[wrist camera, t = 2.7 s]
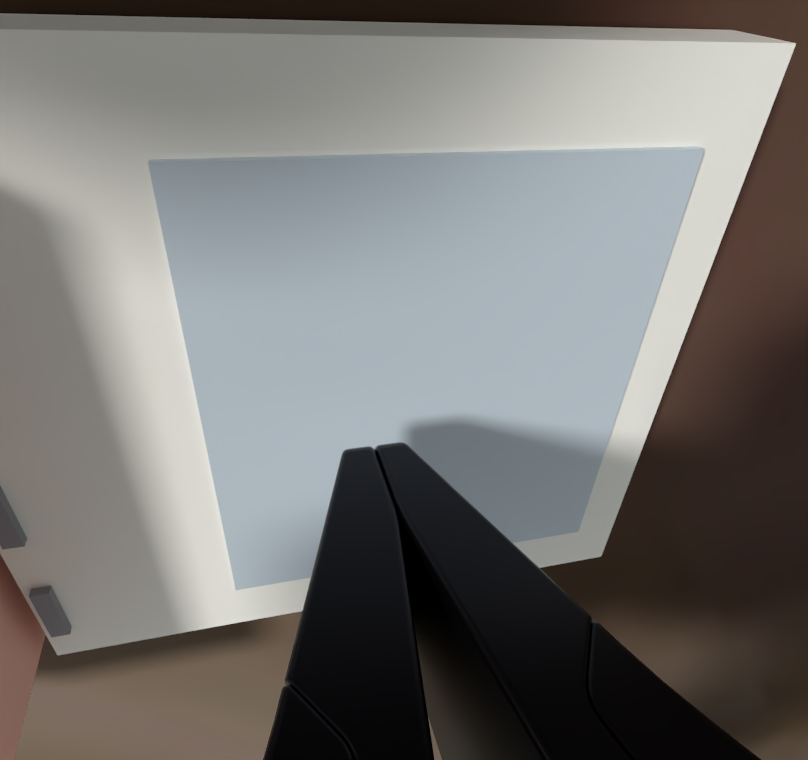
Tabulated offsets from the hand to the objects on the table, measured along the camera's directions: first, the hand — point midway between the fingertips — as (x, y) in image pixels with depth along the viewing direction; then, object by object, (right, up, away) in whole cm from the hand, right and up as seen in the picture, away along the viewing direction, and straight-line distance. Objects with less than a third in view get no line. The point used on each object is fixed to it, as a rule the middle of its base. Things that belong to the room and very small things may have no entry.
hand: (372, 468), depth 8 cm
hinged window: (-1, +1, +2) cm, 2 cm away
